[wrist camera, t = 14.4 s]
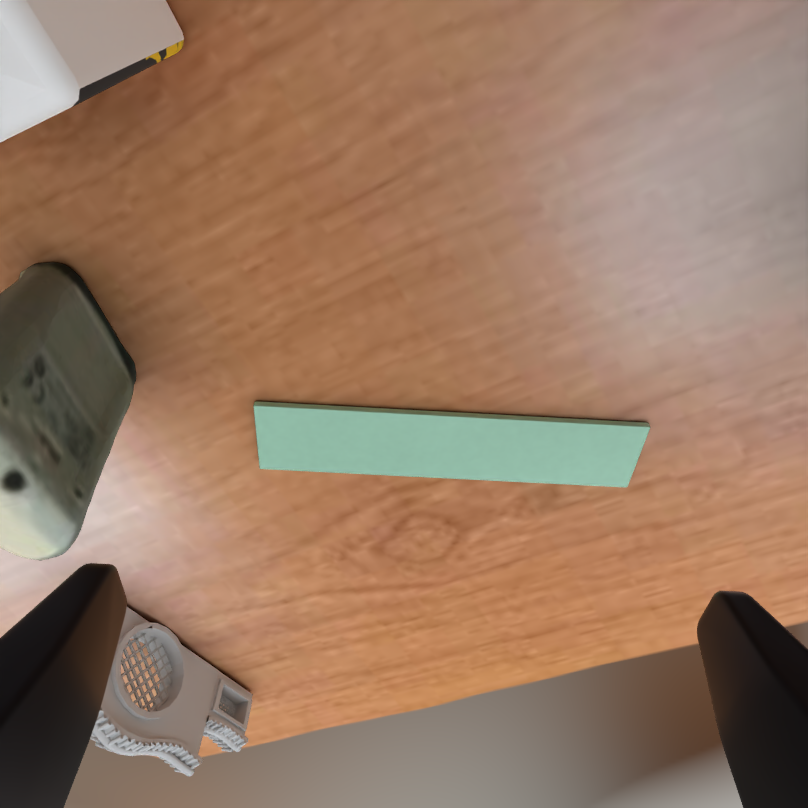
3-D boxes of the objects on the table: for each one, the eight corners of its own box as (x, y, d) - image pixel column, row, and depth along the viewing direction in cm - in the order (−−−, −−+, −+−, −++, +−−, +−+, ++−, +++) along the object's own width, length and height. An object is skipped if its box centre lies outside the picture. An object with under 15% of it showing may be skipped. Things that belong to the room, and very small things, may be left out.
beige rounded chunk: (202, 339, 22) (117, 507, 16) (127, 423, 24) (27, 600, 18) (45, 230, 20) (-131, 374, 13) (-22, 334, 22) (-199, 501, 15)
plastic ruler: (648, 422, 24) (651, 427, 24) (625, 482, 26) (627, 487, 26) (254, 400, 24) (253, 405, 23) (260, 464, 25) (259, 469, 25)
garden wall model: (259, 692, 36) (237, 807, 31) (235, 700, 37) (210, 815, 32) (99, 579, 30) (41, 701, 25) (73, 591, 30) (12, 712, 26)
